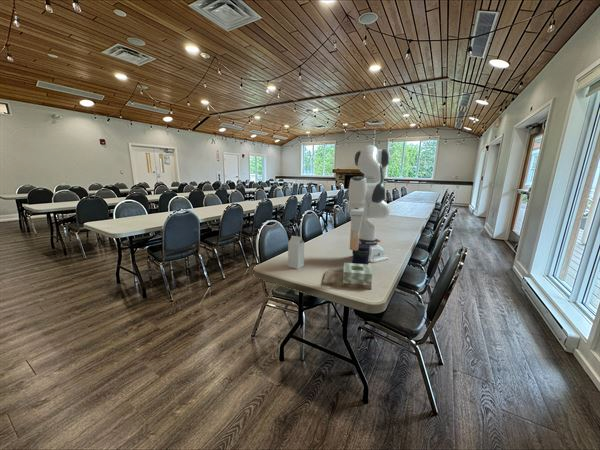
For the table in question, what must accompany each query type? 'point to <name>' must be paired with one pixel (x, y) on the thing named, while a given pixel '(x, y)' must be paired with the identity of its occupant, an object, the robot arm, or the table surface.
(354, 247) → the peg
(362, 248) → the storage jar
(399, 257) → the table surface
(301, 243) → the milk carton
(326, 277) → the socket board
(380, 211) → the robot arm
